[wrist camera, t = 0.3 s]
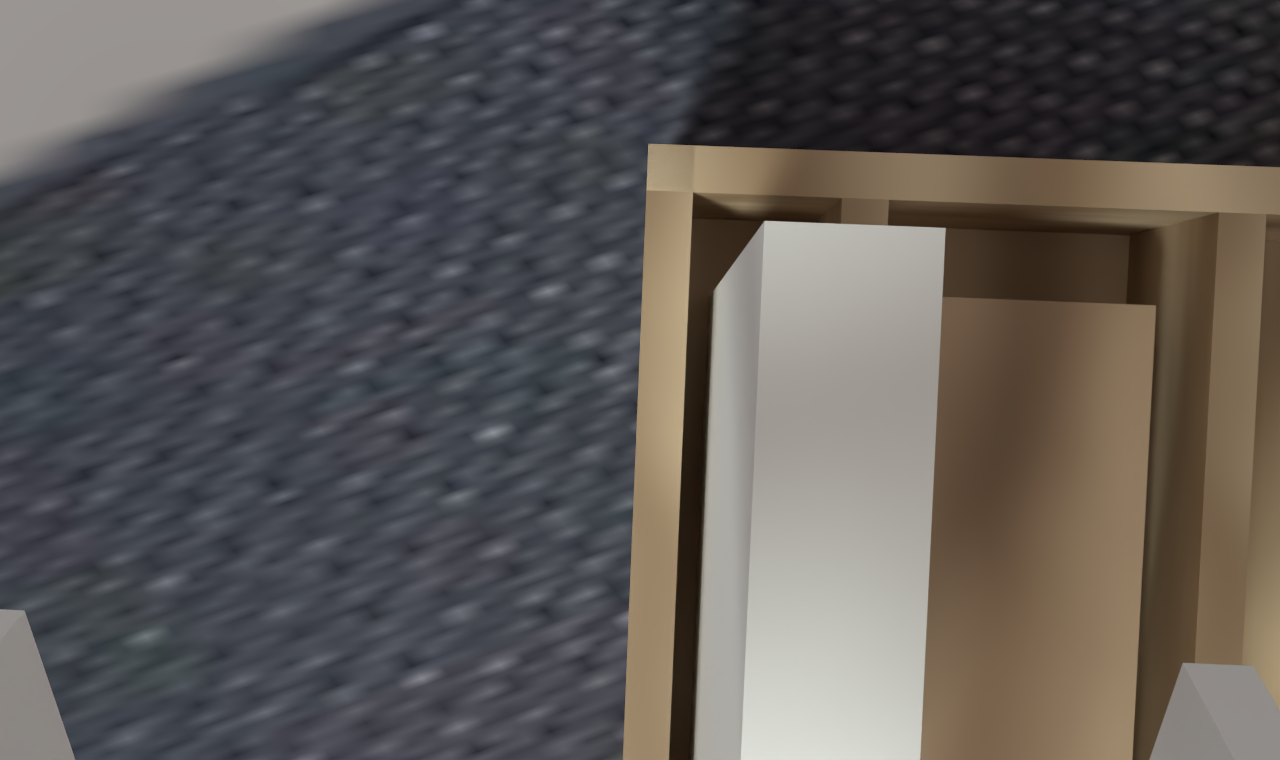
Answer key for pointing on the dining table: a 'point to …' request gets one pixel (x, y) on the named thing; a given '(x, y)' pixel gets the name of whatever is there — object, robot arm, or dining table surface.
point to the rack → (994, 269)
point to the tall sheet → (817, 495)
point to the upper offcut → (1037, 530)
